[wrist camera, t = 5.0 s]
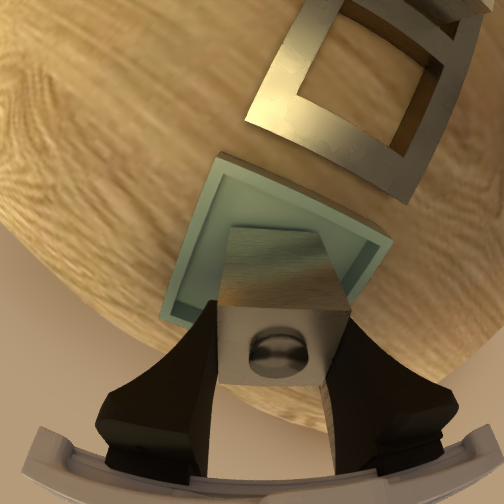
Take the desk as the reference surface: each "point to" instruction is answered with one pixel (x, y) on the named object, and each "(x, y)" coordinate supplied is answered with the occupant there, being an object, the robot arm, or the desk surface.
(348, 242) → the parts tray
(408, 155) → the grey holder frame
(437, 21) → the nut block
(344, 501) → the robot arm
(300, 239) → the nut block
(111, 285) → the desk surface
